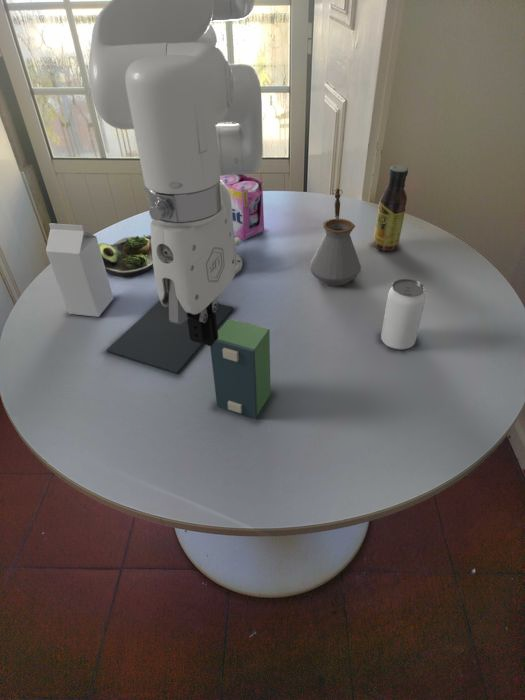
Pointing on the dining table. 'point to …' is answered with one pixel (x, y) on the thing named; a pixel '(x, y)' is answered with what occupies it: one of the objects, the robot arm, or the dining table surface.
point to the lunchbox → (241, 367)
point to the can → (403, 314)
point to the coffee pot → (336, 252)
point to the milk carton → (79, 269)
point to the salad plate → (127, 256)
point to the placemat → (161, 340)
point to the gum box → (245, 204)
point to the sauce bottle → (391, 210)
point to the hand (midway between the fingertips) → (204, 339)
